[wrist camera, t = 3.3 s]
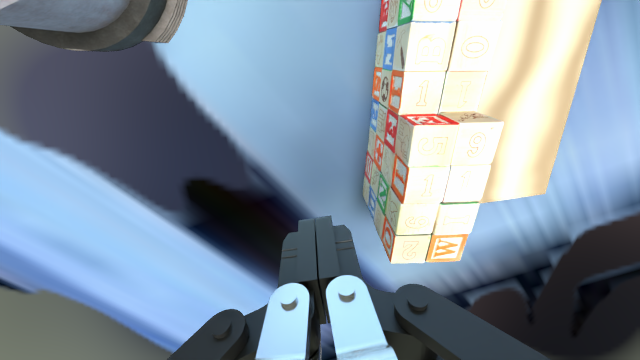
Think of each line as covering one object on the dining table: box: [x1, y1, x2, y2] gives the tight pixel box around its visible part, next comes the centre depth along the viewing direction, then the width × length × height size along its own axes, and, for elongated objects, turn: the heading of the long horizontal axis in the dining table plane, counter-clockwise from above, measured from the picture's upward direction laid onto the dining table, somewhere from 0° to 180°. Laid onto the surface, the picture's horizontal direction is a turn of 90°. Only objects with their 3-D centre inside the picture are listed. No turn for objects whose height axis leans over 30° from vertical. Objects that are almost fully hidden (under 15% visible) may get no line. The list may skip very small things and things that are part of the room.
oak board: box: [477, 0, 602, 203], centre depth 28 cm, size 14×26×1 cm, turn 8°
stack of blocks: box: [363, 0, 507, 264], centre depth 22 cm, size 21×6×12 cm, turn 0°
